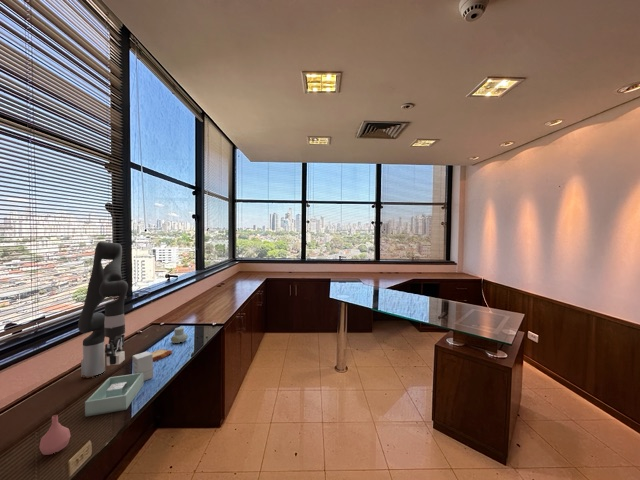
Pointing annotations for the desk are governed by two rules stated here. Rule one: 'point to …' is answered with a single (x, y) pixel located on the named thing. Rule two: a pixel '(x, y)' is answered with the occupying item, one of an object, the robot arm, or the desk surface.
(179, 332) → the air freshener
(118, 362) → the cream box
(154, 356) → the slice of bread
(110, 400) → the tote
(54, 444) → the pink vase
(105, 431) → the desk surface
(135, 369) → the supplement box
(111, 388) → the tin block
